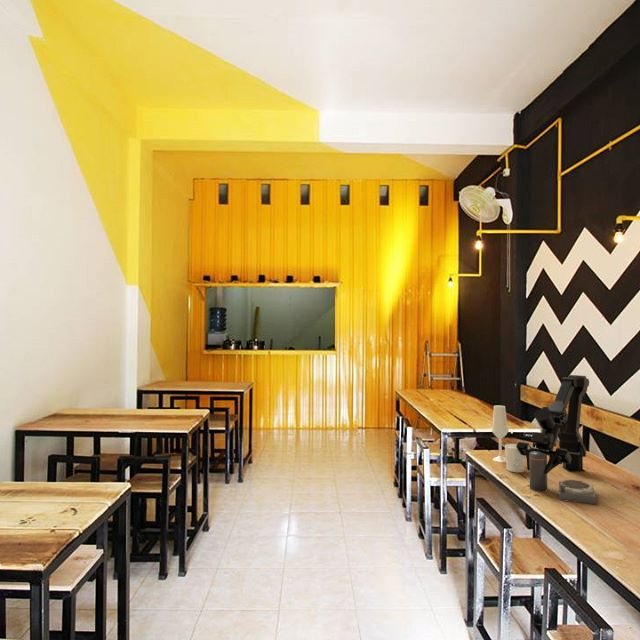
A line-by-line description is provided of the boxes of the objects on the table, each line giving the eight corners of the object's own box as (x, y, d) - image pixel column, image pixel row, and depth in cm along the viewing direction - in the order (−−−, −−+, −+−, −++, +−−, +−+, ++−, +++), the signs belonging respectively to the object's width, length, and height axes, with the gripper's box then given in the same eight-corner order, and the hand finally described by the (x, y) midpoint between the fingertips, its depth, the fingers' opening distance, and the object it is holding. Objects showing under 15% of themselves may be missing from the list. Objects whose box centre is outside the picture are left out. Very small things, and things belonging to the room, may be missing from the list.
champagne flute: (506, 462, 216) (505, 408, 217) (490, 460, 220) (489, 406, 220) (510, 459, 222) (509, 405, 222) (494, 457, 226) (493, 404, 226)
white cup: (528, 472, 202) (528, 448, 202) (509, 473, 202) (508, 448, 202) (521, 467, 210) (520, 443, 210) (502, 467, 210) (502, 443, 210)
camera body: (559, 488, 183) (558, 477, 183) (592, 492, 178) (592, 481, 178) (559, 500, 171) (559, 488, 171) (595, 504, 167) (595, 492, 167)
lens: (543, 485, 186) (542, 450, 186) (550, 491, 180) (549, 455, 180) (527, 486, 186) (526, 451, 186) (533, 491, 180) (533, 455, 180)
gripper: (517, 420, 193) (504, 454, 185) (567, 427, 179) (556, 464, 171) (527, 437, 198) (514, 471, 191) (576, 445, 184) (565, 482, 177)
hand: (536, 471), depth 182 cm, fingers closed on lens, 6 cm apart
